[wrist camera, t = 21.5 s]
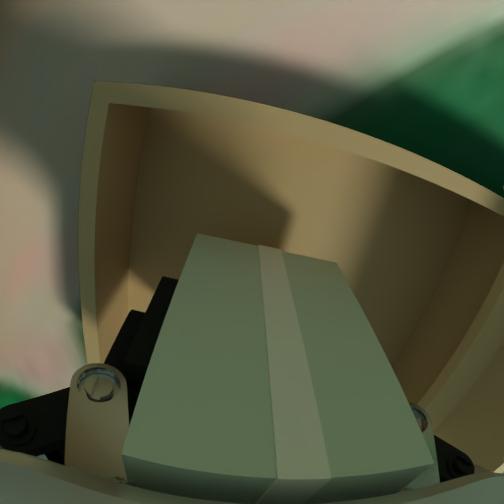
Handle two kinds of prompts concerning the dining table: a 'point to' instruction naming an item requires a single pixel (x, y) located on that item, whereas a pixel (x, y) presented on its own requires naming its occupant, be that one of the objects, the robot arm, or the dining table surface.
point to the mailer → (280, 215)
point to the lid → (474, 388)
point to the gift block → (269, 388)
